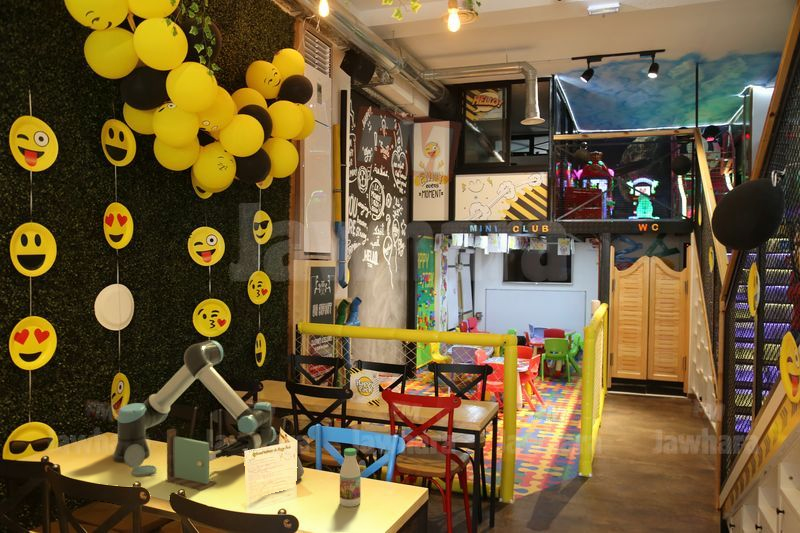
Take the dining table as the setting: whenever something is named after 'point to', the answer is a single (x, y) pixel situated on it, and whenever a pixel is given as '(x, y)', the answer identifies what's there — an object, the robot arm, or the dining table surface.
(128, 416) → the robot arm
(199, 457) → the door
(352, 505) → the milk bottle
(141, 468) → the pocket watch
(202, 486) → the door frame
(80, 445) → the dining table surface
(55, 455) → the dining table surface
